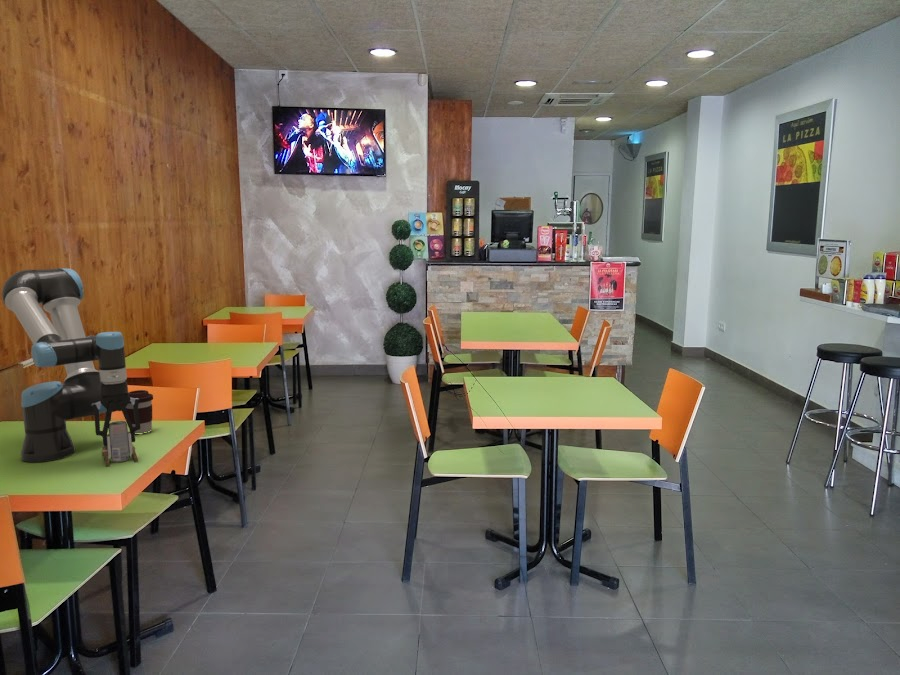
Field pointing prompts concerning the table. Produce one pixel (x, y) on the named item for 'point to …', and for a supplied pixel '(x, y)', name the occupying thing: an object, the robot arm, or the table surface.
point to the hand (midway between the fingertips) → (120, 453)
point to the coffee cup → (141, 410)
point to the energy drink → (119, 441)
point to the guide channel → (105, 454)
